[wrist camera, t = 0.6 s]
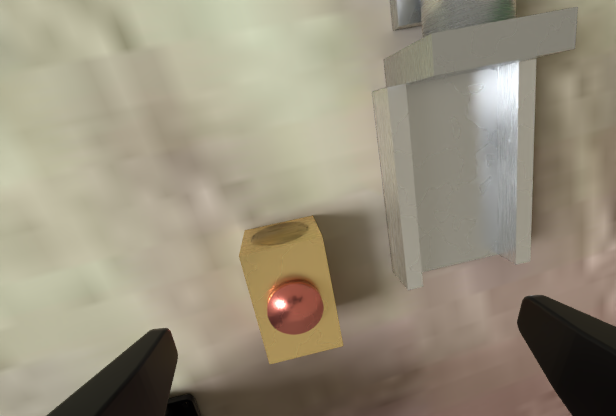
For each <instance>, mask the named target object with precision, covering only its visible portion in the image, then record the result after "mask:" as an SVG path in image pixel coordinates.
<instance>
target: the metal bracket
mask: <svg viewBox="0 0 616 416" xmlns="http://www.w3.org/2000/svg"><path fill="white" fill-rule="evenodd" d="M390 4H391V14H392V25H393V30H398V29H404V28H409V27H415V26H420V25H422V36H423V38H422V39H420V40H419V41H417V42H415V43H413V44H411V45H409V46H408V47H406V48H404V49H402V50H400V51H399V52H397V53H395V54H393V55H391V56H389V57H388V58H386V59H384V67H385V76H386V86H387V88H384V89H380V90H377V91H373V92H372V96H373V104H374V113H375V121H376V130H377V139H378V147H379V156H380V164H381V173H382V181H383V190H384V198H385V207H386V216H387V224H388V233H389V241H390V250H391V258H392V267H393V273H394V274H395V275H396V276H397V278H398V279H399V280H400V281H401V282H402V284H403V285H404V286H405V287H406V289H407V290H411V289H416V288H420V287H423V278H422V272H425V271H429V270H433V269H438V268H442V267H446V266H450V265H455V264H459V263H463V262H468V261H472V260H476V259H480V258H485V257H489V256H493V255H500V256H501V257H503V258H505V259H507V260H508V261H510V262H512V263H513V264H515V265H517V264H521V263H526V262H530V257H531V223H532V190H533V157H534V123H535V90H536V59H534V58H538V57H543V56H547V55H551V54H555V53H559V52H563V51H567V50H572V49H575V43H576V27H577V11H578V7H573V8H568V9H563V10H557V11H552V12H546V13H541V14H535V15H530V16H524V17H519V18H516V0H390ZM530 59H533V60H530ZM526 60H527V61H526Z"/></svg>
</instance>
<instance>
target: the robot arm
mask: <svg viewBox="0 0 616 416" xmlns="http://www.w3.org/2000/svg"><path fill="white" fill-rule="evenodd" d="M517 325H518V328H519V331H520V333H521V334H522V336H523V338H524V339H525V341H526V343H527V345H528V346H529V348H530V350H531V351H532V353H533V355H534V356H535V358H536V360H537V362H538V363H539V365H540V367H541V368H542V370H543V372H544V373H545V375H546V377H547V379H548V380H549V382H550V383H551V385H552V387H553V388H554V390H555V391H556V393H557V394H558V396H559V397H560V399H561V400H562V402H563V403H564V405H565V406H566V407H567V409H568V410H569V412H570V413H571V414H572V416H616V327H615V326H613V325H610V324H608V323H606V322H603V321H601V320H599V319H597V318H594V317H592V316H590V315H588V314H585V313H583V312H581V311H578V310H576V309H574V308H572V307H569V306H567V305H565V304H562V303H560V302H558V301H556V300H553V299H551V298H549V297H546V296H544V295H534V296H526V297H525V298H524V299H523V300H522V304H521V308H520V312H519V316H518V320H517ZM177 359H178V353H177V349H176V346H175V343H174V340H173V337H172V334H171V331H170V330H169V329H168V328H160V329H152V330H150V331H149V332H147V333H146V334H145V335H144V336H143V337H141V338H140V339H139V340H138V341H136V342H135V343H134V344H133V345H132V346H130V347H129V348H128V349H127V350H126V351H124V352H123V353H122V354H121V355H119V356H118V357H117V358H116V359H115V360H113V361H112V362H111V363H110V364H108V365H107V366H106V367H105V368H104V369H102V370H101V371H100V372H99V373H98V374H96V375H95V376H94V377H93V378H91V379H90V380H89V381H88V382H87V383H85V384H84V385H83V386H82V387H81V388H79V389H78V390H77V391H76V392H74V393H73V394H72V395H71V396H70V397H68V398H67V399H66V400H65V401H64V402H62V403H61V404H60V405H59V406H57V407H56V408H55V409H54V410H53V411H51V412H50V413H49V414H48V415H47V416H201V414H200V411H199V409H198V406H197V403H196V401H195V398H194V397H193V396H192V395H189V394H188V395H182V396H178V397H174V398H170V399H168V398H169V394H170V390H171V385H172V381H173V377H174V373H175V369H176V364H177ZM186 402H188V403H186Z"/></svg>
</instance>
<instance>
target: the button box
mask: <svg viewBox="0 0 616 416" xmlns="http://www.w3.org/2000/svg"><path fill="white" fill-rule="evenodd" d="M239 258H240V261H241V265H242V268H243V272H244V276H245V279H246V283H247V286H248V290H249V293H250V297H251V300H252V304H253V307H254V311H255V314H256V318H257V322H258V325H259V329H260V332H261V336H262V339H263V343H264V346H265V350H266V353H267V357H268V360H269V364H273V363H277V362H281V361H285V360H289V359H293V358H297V357H301V356H305V355H309V354H313V353H317V352H321V351H325V350H329V349H333V348H337V347H341V346H343V341H342V336H341V331H340V325H339V320H338V315H337V310H336V304H335V299H334V294H333V289H332V283H331V278H330V273H329V268H328V262H327V257H326V252H325V247H324V241H323V237H322V235H321V232H320V230H319V228H318V226H317V224H316V222H315V219H314V217H313V216H308V217H304V218H299V219H295V220H290V221H286V222H281V223H277V224H272V225H268V226H263V227H258V228H254V229H249V230H245V232H244V236H243V241H242V245H241V249H240V254H239Z"/></svg>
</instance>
